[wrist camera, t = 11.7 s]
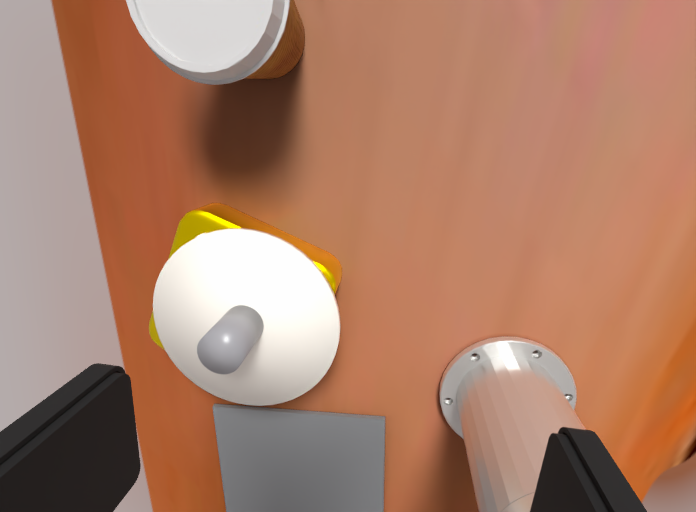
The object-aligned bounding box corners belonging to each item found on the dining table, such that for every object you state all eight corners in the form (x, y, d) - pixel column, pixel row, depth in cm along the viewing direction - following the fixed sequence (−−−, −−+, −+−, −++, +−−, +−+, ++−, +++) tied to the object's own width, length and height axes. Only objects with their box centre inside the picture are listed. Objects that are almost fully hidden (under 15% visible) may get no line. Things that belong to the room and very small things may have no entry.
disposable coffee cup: (310, -45, 31) (257, -150, 19) (334, 86, 33) (300, 61, 22) (198, -13, 32) (89, -92, 21) (229, 109, 35) (146, 97, 24)
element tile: (167, 321, 43) (139, 343, 38) (207, 194, 38) (180, 202, 33) (293, 380, 43) (281, 409, 38) (350, 260, 38) (343, 277, 33)
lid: (338, 409, 37) (328, 456, 32) (168, 390, 39) (130, 432, 34) (342, 233, 32) (330, 254, 27) (147, 222, 34) (99, 239, 29)
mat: (382, 549, 48) (382, 554, 47) (231, 532, 50) (229, 535, 49) (385, 416, 42) (385, 419, 42) (214, 403, 44) (212, 406, 44)
